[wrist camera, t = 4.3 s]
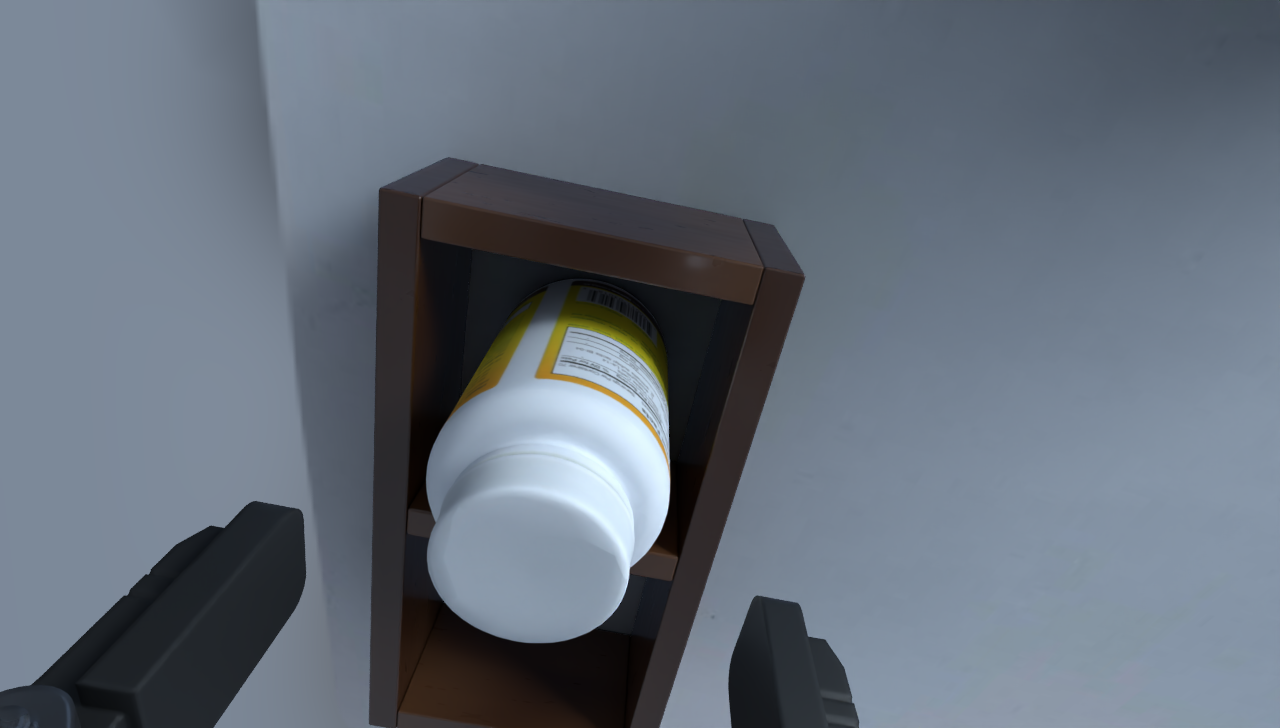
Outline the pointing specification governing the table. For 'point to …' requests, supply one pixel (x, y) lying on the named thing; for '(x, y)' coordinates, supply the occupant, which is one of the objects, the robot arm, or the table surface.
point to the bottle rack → (430, 389)
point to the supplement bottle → (553, 466)
